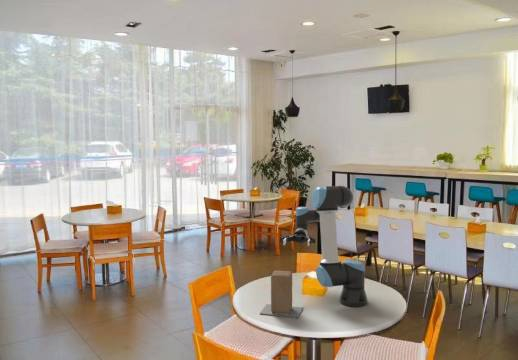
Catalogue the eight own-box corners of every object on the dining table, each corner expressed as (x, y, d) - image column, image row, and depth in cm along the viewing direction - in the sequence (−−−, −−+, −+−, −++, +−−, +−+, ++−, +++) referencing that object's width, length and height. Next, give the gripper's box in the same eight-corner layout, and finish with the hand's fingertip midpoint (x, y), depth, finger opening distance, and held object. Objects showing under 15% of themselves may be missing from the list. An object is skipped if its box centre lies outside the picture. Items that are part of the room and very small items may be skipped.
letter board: (303, 308, 251) (303, 307, 251) (297, 318, 238) (297, 317, 237) (266, 305, 256) (266, 303, 256) (259, 314, 243) (259, 313, 243)
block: (289, 314, 241) (289, 276, 239) (270, 313, 243) (270, 275, 241) (292, 307, 251) (292, 270, 249) (273, 306, 253) (273, 269, 251)
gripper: (321, 242, 282) (318, 250, 261) (279, 240, 287) (274, 248, 266) (321, 230, 281) (318, 237, 260) (279, 228, 286) (274, 235, 265)
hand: (296, 243), depth 263 cm, fingers open, 13 cm apart
